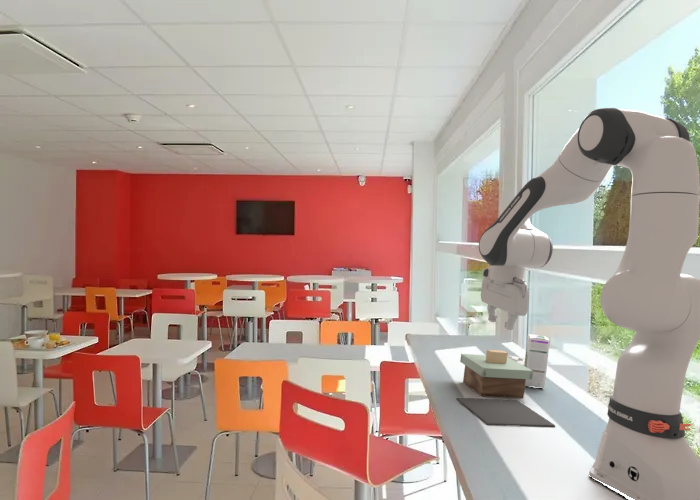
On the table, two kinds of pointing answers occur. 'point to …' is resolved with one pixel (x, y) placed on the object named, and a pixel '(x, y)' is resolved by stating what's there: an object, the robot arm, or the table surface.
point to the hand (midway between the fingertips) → (499, 325)
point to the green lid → (496, 365)
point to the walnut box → (494, 385)
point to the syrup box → (537, 359)
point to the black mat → (504, 412)
